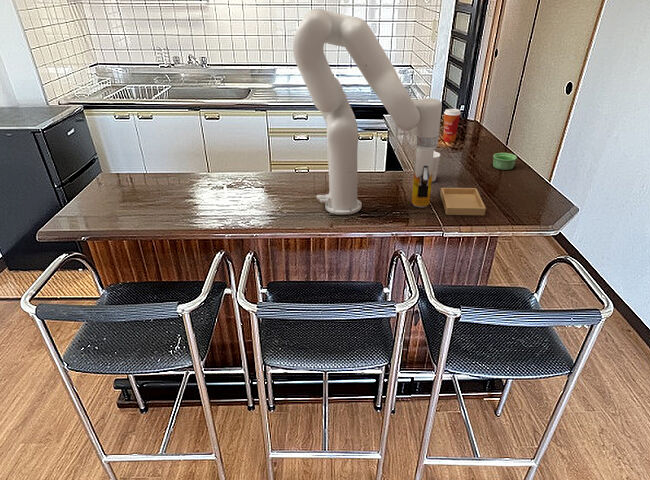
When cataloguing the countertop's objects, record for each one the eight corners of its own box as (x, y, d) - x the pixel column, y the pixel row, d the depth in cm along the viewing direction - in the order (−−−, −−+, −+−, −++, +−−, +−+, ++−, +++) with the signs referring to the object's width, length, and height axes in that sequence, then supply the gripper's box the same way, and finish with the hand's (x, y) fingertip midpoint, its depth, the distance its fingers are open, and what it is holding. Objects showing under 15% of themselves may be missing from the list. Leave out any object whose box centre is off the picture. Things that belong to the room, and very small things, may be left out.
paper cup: (438, 138, 212) (441, 109, 204) (452, 137, 214) (455, 107, 206) (446, 143, 206) (449, 113, 198) (460, 141, 207) (464, 111, 200)
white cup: (436, 175, 173) (439, 150, 167) (438, 183, 166) (441, 157, 161) (416, 175, 174) (418, 150, 168) (417, 182, 167) (419, 157, 162)
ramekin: (517, 170, 175) (520, 159, 173) (495, 170, 175) (497, 160, 173) (510, 162, 183) (512, 152, 180) (489, 163, 183) (490, 152, 180)
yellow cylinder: (415, 209, 148) (419, 167, 140) (408, 202, 153) (411, 160, 145) (432, 206, 149) (436, 164, 141) (424, 199, 154) (428, 158, 146)
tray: (446, 214, 144) (447, 207, 143) (440, 194, 158) (441, 187, 156) (484, 215, 143) (485, 208, 142) (475, 194, 157) (476, 188, 155)
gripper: (412, 132, 146) (408, 182, 156) (416, 149, 132) (412, 203, 142) (435, 132, 146) (430, 182, 156) (441, 149, 131) (435, 203, 141)
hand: (421, 192), depth 149 cm, fingers closed on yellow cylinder, 6 cm apart
